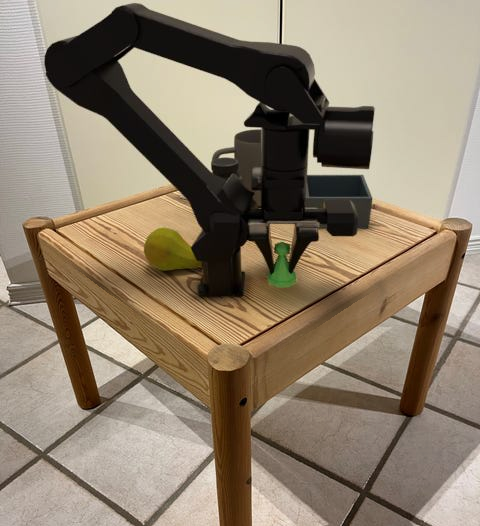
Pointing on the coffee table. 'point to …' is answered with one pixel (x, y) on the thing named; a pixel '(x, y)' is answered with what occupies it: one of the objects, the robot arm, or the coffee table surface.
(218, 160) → the pill bottle
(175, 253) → the fruit
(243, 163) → the mug
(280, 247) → the game piece
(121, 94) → the robot arm
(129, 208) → the coffee table surface
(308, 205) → the bin
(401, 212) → the coffee table surface
